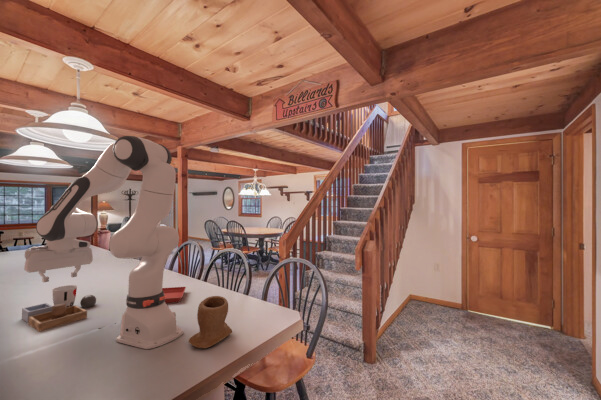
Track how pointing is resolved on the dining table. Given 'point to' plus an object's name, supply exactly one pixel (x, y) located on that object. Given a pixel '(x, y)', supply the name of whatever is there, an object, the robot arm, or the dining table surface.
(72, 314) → the oak tray
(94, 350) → the dining table surface
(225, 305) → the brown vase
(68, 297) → the cup
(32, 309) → the pen pot
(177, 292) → the plant saucer
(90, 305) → the dark gray ball
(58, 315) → the walnut peg
